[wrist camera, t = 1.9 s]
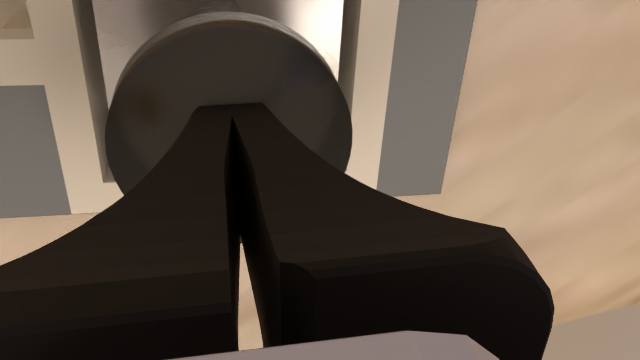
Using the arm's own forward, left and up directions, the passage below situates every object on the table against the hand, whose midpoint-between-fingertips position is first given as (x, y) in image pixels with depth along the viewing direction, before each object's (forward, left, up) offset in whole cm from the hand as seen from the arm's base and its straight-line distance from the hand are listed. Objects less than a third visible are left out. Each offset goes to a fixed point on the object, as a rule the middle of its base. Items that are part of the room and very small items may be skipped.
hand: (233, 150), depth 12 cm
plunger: (0, 0, -6) cm, 6 cm away
